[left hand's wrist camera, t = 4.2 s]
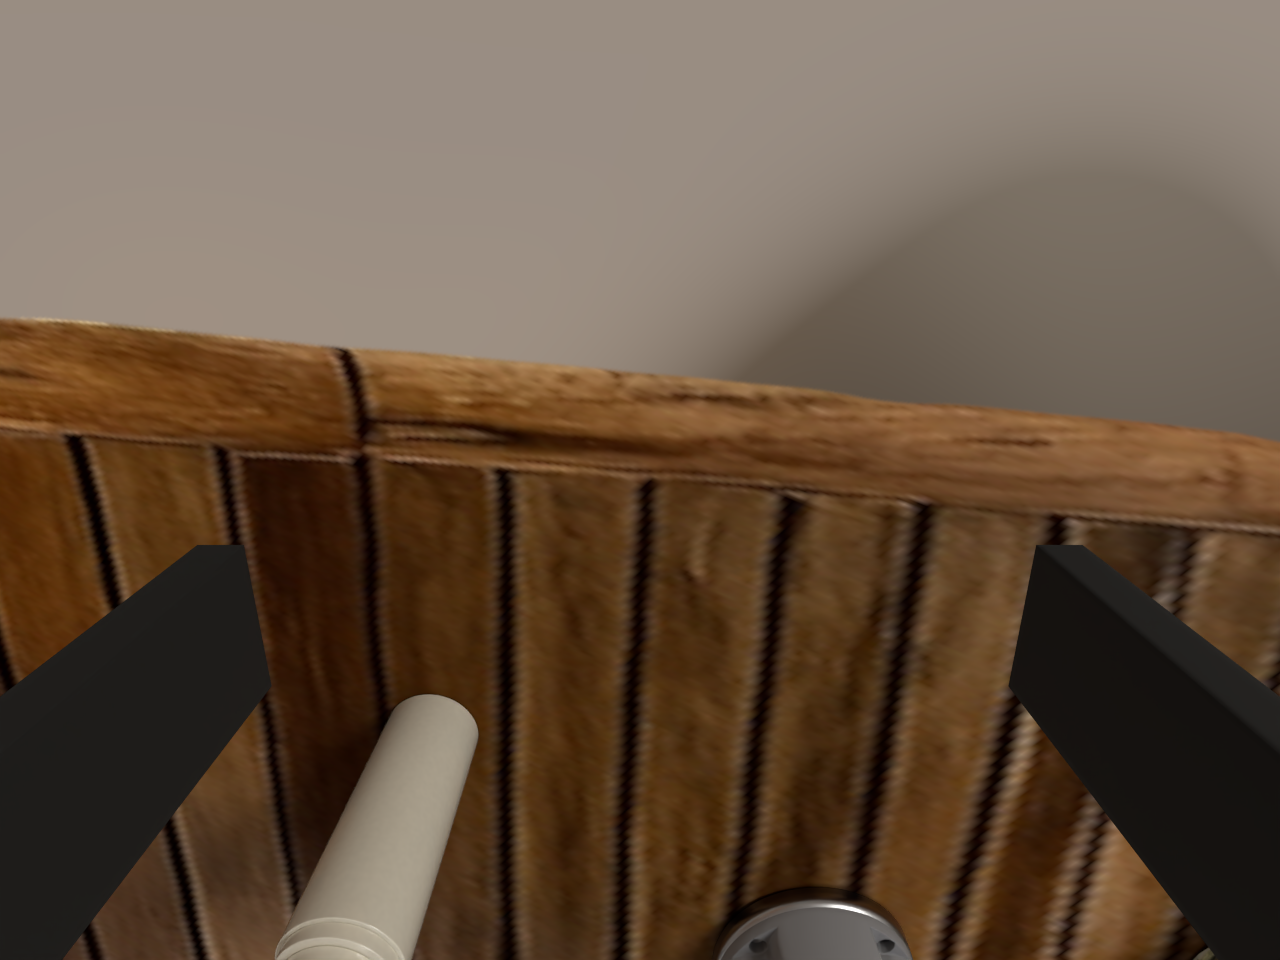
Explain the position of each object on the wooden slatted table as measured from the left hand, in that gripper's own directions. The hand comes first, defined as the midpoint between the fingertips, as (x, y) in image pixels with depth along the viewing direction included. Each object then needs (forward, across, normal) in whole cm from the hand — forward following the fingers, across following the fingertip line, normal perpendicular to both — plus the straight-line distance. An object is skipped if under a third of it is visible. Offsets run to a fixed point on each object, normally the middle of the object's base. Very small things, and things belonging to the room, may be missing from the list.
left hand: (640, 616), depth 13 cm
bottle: (+32, +14, +28) cm, 45 cm away
